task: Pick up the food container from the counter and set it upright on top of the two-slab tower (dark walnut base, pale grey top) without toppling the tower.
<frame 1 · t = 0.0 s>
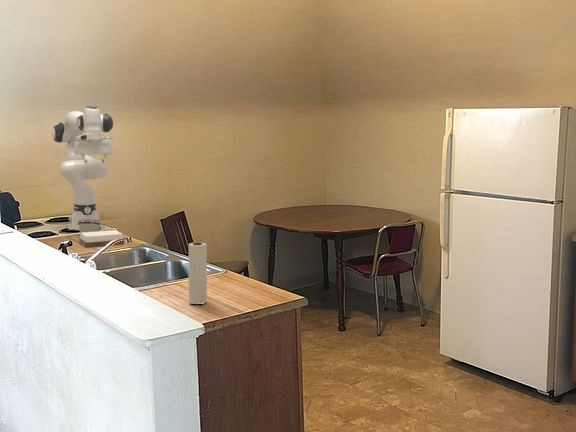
hand: (94, 163, 354), 39 cm above the countertop, tool pointing down, fingers open, 8 cm apart
paper towel roll: (199, 303, 235), on the countertop
tower top: (101, 239, 337), point 2 cm above the countertop, touching tower bottom
food container: (91, 239, 349), on the countertop
tower bottom: (101, 245, 337), on the countertop, touching tower top
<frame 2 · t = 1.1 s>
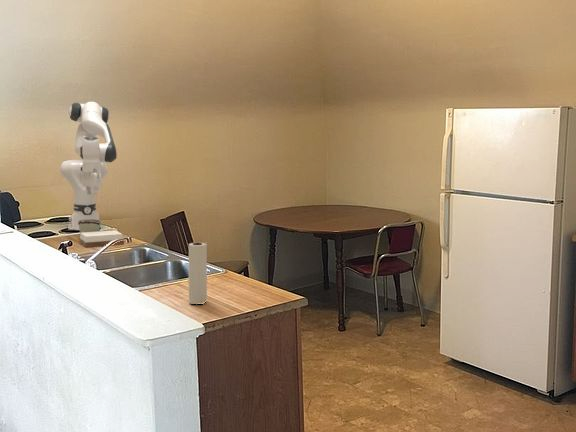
hand: (92, 195, 346), 23 cm above the countertop, tool pointing down, fingers open, 8 cm apart
nothing on the countertop moved.
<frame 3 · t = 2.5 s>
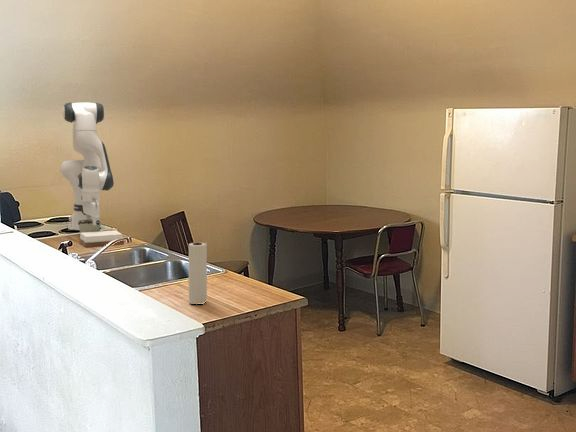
hand: (91, 224, 347), 8 cm above the countertop, tool pointing down, fingers open, 8 cm apart
food container: (91, 239, 349), on the countertop, touching gripper
everything else where it was.
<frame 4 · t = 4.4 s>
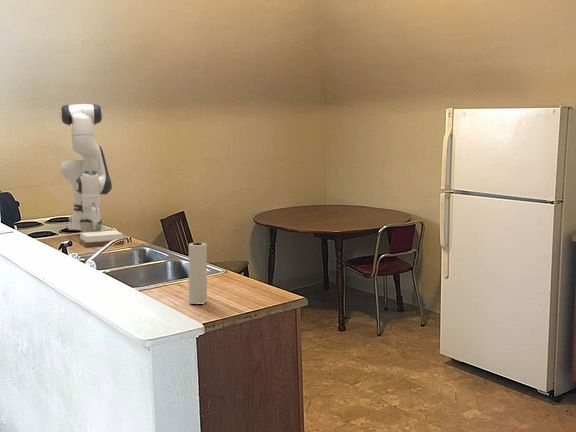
hand: (92, 228, 348), 5 cm above the countertop, tool pointing down, fingers closed on food container, 7 cm apart
food container: (92, 238, 349), on the countertop, touching gripper
everything else where it was.
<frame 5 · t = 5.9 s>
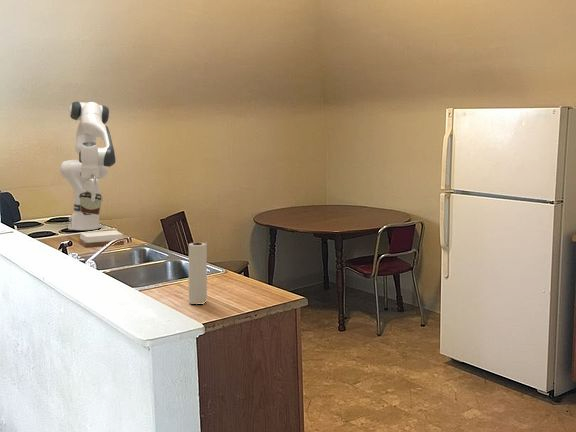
hand: (90, 200, 346), 20 cm above the countertop, tool pointing down, fingers closed on food container, 6 cm apart
food container: (91, 211, 350), point 14 cm above the countertop, touching gripper
everything else where it was.
when the fingers open (13 cm above the countertop, at t = 10.9 s): food container drops 2 cm, resting on tower top.
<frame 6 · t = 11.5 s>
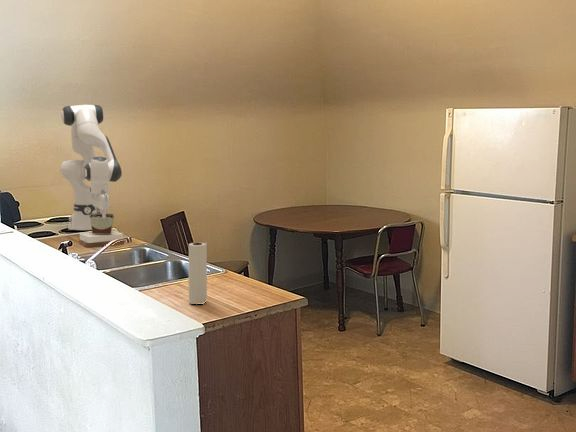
hand: (101, 217, 335), 14 cm above the countertop, tool pointing down, fingers open, 8 cm apart
tower top: (101, 239, 337), point 2 cm above the countertop, touching food container, tower bottom
food container: (102, 233, 335), point 5 cm above the countertop, touching gripper, tower top
everything else where it was.
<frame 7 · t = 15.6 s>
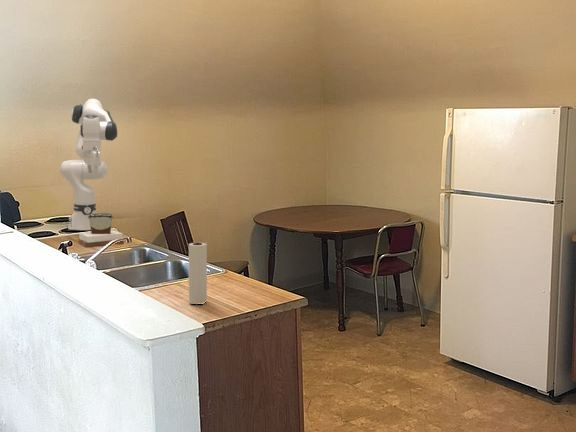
hand: (92, 173, 344), 34 cm above the countertop, tool pointing down, fingers open, 8 cm apart
tower top: (101, 239, 338), point 2 cm above the countertop, touching food container, tower bottom
food container: (101, 233, 338), point 5 cm above the countertop, touching tower top
tower bottom: (101, 245, 338), on the countertop, touching tower top
everything else where it was.
at the end: food container inside the target area on the tower top (0.6 cm from its centre), point 2.8 cm above the tower top's base; tower top 0.2 cm off-centre on the tower bottom, point 3.0 cm above the tower bottom's base; food container tilted 0° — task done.
